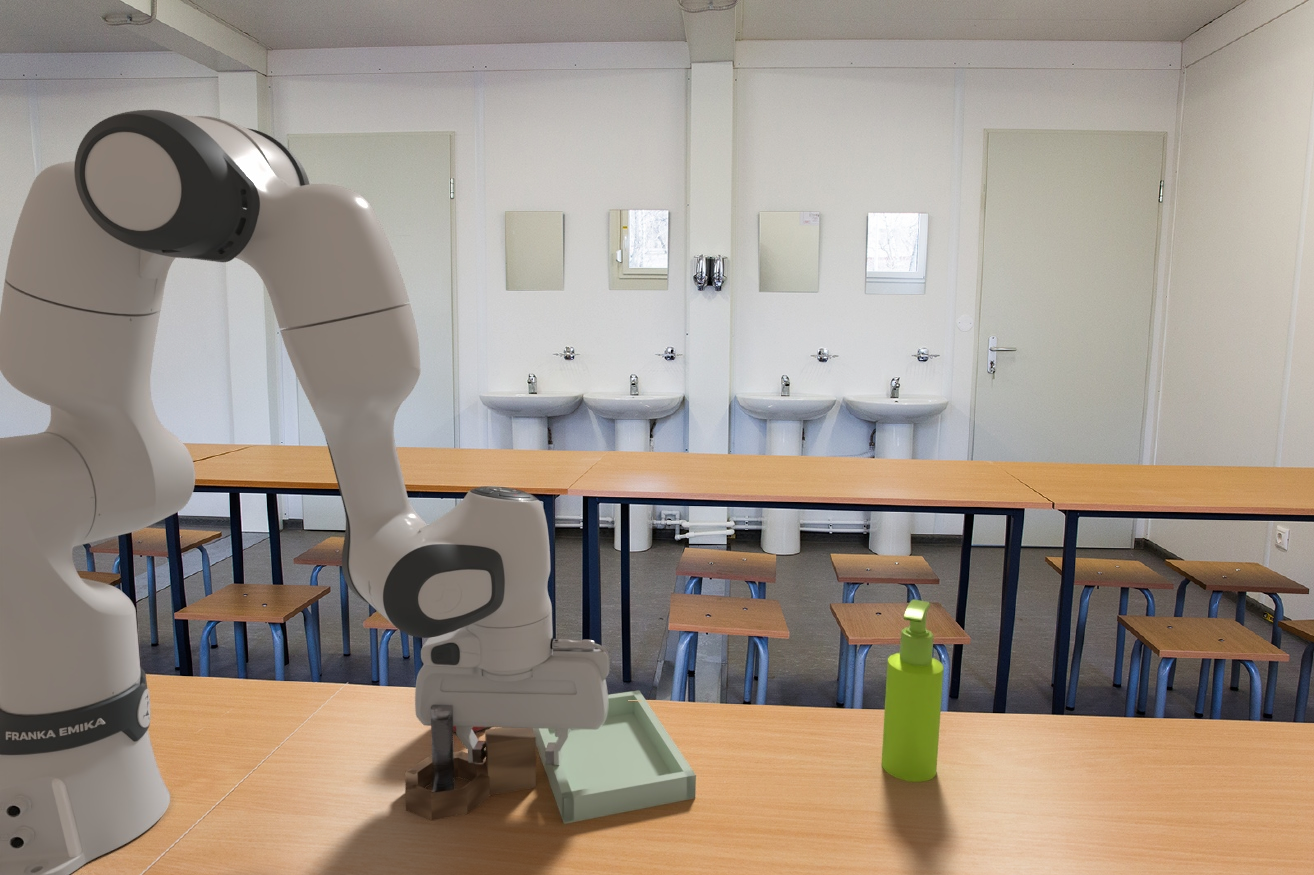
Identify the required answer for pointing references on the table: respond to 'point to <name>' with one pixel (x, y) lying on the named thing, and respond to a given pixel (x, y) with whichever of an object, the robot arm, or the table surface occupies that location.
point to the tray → (617, 764)
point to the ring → (476, 775)
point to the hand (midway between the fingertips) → (515, 761)
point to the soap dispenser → (913, 702)
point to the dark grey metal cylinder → (442, 747)
